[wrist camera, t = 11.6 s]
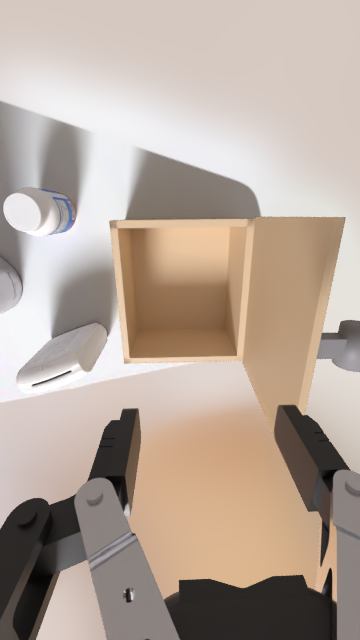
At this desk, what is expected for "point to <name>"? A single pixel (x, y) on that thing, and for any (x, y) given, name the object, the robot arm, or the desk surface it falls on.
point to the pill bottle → (39, 211)
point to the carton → (182, 288)
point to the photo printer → (63, 359)
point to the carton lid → (293, 310)
